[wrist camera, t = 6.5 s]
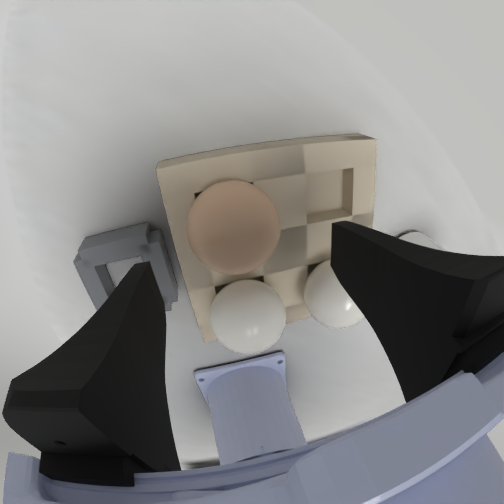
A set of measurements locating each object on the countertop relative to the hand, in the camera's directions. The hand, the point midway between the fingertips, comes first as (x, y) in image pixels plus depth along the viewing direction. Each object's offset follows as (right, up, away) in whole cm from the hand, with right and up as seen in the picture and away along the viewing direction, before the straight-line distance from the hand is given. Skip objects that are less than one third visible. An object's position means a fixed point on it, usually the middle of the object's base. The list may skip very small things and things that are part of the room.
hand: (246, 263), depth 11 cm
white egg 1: (0, -3, +6) cm, 6 cm away
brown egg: (-1, +2, +3) cm, 3 cm away
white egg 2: (+6, -2, +6) cm, 9 cm away
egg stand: (-8, -1, +6) cm, 10 cm away
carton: (+2, +1, +7) cm, 8 cm away
